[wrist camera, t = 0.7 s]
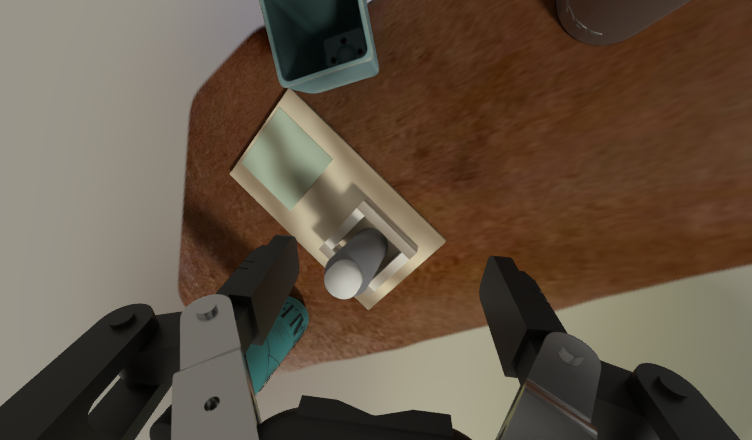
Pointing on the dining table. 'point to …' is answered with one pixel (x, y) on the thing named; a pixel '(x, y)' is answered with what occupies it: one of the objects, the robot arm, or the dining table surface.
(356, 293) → the grey capped cylinder
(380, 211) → the cream tray
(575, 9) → the robot arm
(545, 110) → the dining table surface
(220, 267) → the dining table surface
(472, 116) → the dining table surface
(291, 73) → the flower pot
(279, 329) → the beverage bottle
